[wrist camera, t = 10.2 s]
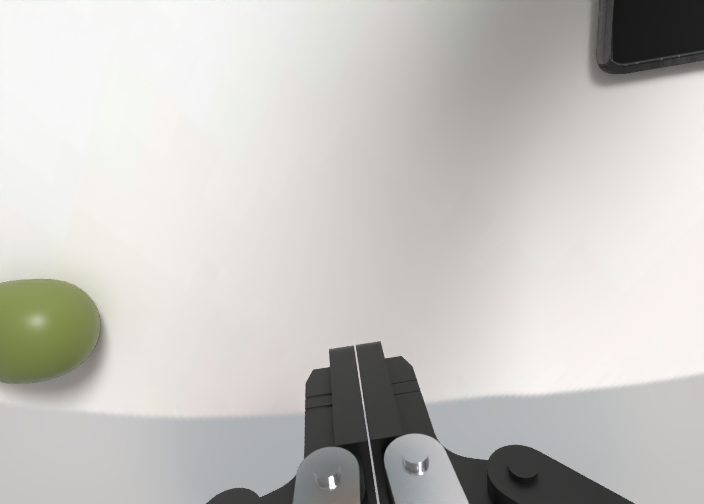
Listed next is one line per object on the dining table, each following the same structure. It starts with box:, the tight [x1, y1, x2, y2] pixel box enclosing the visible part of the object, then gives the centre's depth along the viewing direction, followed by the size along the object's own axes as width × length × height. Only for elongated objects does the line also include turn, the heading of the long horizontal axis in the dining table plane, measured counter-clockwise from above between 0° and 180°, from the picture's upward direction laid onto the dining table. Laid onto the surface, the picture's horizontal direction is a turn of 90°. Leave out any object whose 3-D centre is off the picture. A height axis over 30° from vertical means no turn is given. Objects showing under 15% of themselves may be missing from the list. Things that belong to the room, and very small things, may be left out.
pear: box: [0, 279, 100, 384], centre depth 25 cm, size 6×5×10 cm
